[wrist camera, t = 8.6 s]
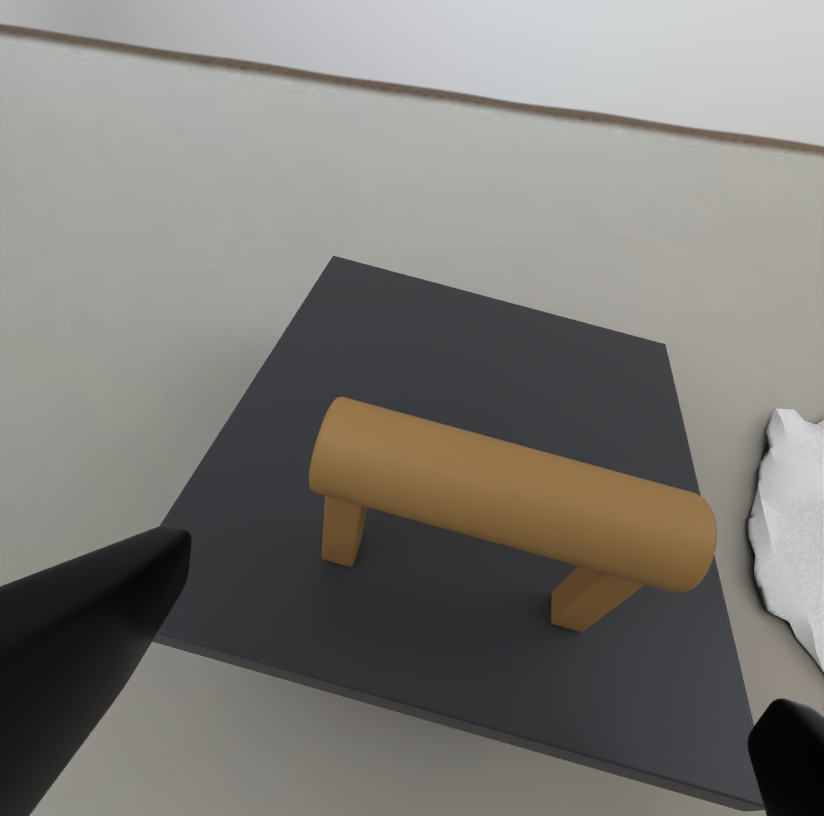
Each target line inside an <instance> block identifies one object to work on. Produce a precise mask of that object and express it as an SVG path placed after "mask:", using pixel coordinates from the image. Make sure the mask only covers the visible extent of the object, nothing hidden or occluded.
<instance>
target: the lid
mask: <svg viewBox="0 0 824 816" xmlns="http://www.w3.org/2000/svg"><path fill="white" fill-rule="evenodd" d="M163 525H167V526H172V527H175V528H179V529H183V530H186V531H188V532H189V533H190V534H191V537H192V544H191V555H190V565H189V574H188V579H187V582H186V585H185V587H184V589H183V591H182V593H181V594H180V596H179V598H178V599H177V601H176V603H175V604H174V606H173V607H172V609H171V611H170V612H169V614H168V616H167V617H166V619H165V621H164V622H163V624H162V626H161V627H160V629H159V631H158V632H157V634H156V636H155V637H154V639H153V642H156V643H159V644H163V645H166V646H170V647H173V648H177V649H180V650H184V651H187V652H191V653H194V654H198V655H201V656H205V657H208V658H212V659H215V660H219V661H222V662H226V663H229V664H233V665H236V666H240V667H243V668H247V669H250V670H253V671H257V672H260V673H264V674H267V675H271V676H274V677H278V678H281V679H285V680H288V681H292V682H295V683H299V684H302V685H306V686H309V687H313V688H316V689H320V690H323V691H327V692H330V693H334V694H337V695H340V696H344V697H347V698H351V699H354V700H358V701H361V702H365V703H368V704H372V705H375V706H379V707H382V708H386V709H389V710H393V711H396V712H400V713H403V714H407V715H410V716H414V717H417V718H421V719H424V720H428V721H431V722H434V723H438V724H441V725H445V726H448V727H452V728H455V729H459V730H462V731H466V732H469V733H473V734H476V735H480V736H483V737H487V738H490V739H494V740H497V741H501V742H504V743H508V744H511V745H515V746H518V747H521V748H525V749H528V750H532V751H535V752H539V753H542V754H546V755H549V756H553V757H556V758H560V759H563V760H567V761H570V762H574V763H577V764H581V765H584V766H588V767H591V768H595V769H598V770H602V771H605V772H609V773H612V774H615V775H619V776H622V777H626V778H629V779H633V780H636V781H640V782H643V783H647V784H650V785H654V786H657V787H661V788H664V789H668V790H671V791H675V792H678V793H682V794H685V795H689V796H692V797H696V798H699V799H702V800H706V801H709V802H713V803H716V804H720V805H723V806H727V807H730V808H734V809H737V810H741V811H758V810H765V808H764V804H763V801H762V798H761V794H760V791H759V787H758V784H757V780H756V777H755V774H754V770H753V767H752V763H751V760H750V756H749V753H748V745H747V743H748V736H749V733H750V732H751V730H752V729H753V727H754V724H753V720H752V716H751V711H750V707H749V703H748V698H747V694H746V690H745V685H744V681H743V677H742V672H741V668H740V664H739V660H738V655H737V651H736V647H735V642H734V638H733V634H732V629H731V625H730V621H729V616H728V612H727V608H726V604H725V599H724V595H723V591H722V586H721V582H720V578H719V573H718V569H717V565H716V561H715V556H714V552H715V546H716V524H715V518H714V515H713V512H712V510H711V508H710V506H709V504H708V503H707V502H706V501H705V500H704V499H703V498H702V497H701V496H700V492H699V487H698V483H697V479H696V474H695V470H694V466H693V462H692V457H691V453H690V449H689V444H688V440H687V436H686V431H685V427H684V423H683V418H682V414H681V410H680V406H679V401H678V397H677V393H676V388H675V384H674V380H673V375H672V371H671V367H670V362H669V358H668V354H667V350H666V345H665V344H662V343H658V342H655V341H651V340H647V339H643V338H640V337H636V336H632V335H628V334H625V333H621V332H617V331H613V330H610V329H606V328H602V327H598V326H595V325H591V324H587V323H583V322H580V321H576V320H572V319H568V318H565V317H561V316H557V315H553V314H550V313H546V312H542V311H538V310H535V309H531V308H527V307H523V306H520V305H516V304H512V303H508V302H505V301H501V300H497V299H493V298H490V297H486V296H482V295H478V294H475V293H471V292H467V291H463V290H460V289H456V288H452V287H448V286H445V285H441V284H437V283H434V282H430V281H426V280H422V279H419V278H415V277H411V276H407V275H404V274H400V273H396V272H392V271H389V270H385V269H381V268H377V267H374V266H370V265H366V264H362V263H359V262H355V261H351V260H347V259H344V258H340V257H336V256H333V257H332V258H331V260H330V262H329V263H328V265H327V266H326V268H325V269H324V271H323V272H322V274H321V276H320V277H319V279H318V280H317V282H316V283H315V285H314V286H313V288H312V290H311V291H310V293H309V294H308V296H307V297H306V299H305V301H304V302H303V304H302V305H301V307H300V308H299V310H298V311H297V313H296V315H295V316H294V318H293V319H292V321H291V322H290V324H289V325H288V327H287V329H286V330H285V332H284V333H283V335H282V336H281V338H280V339H279V341H278V343H277V344H276V346H275V347H274V349H273V350H272V352H271V354H270V355H269V357H268V358H267V360H266V361H265V363H264V364H263V366H262V368H261V369H260V371H259V372H258V374H257V375H256V377H255V378H254V380H253V382H252V383H251V385H250V386H249V388H248V389H247V391H246V392H245V394H244V396H243V397H242V399H241V400H240V402H239V403H238V405H237V407H236V408H235V410H234V411H233V413H232V414H231V416H230V417H229V419H228V421H227V422H226V424H225V425H224V427H223V428H222V430H221V431H220V433H219V435H218V436H217V438H216V439H215V441H214V442H213V444H212V446H211V447H210V449H209V450H208V452H207V453H206V455H205V456H204V458H203V460H202V461H201V463H200V464H199V466H198V467H197V469H196V470H195V472H194V474H193V475H192V477H191V478H190V480H189V481H188V483H187V484H186V486H185V488H184V489H183V491H182V492H181V494H180V495H179V497H178V499H177V500H176V502H175V503H174V505H173V506H172V508H171V509H170V511H169V513H168V514H167V516H166V517H165V519H164V520H163V522H162V523H161V525H160V526H163Z"/></svg>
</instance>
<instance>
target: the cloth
mask: <svg viewBox="0 0 824 816" xmlns="http://www.w3.org/2000/svg"><path fill="white" fill-rule="evenodd" d="M766 435H767V442H766V445H765V449H764V452H763V456H762V459H761V462H760V465H759V468H758V487H757V491H756V495H755V498H754V501H753V505H752V508H751V511H750V515H749V517H748V519H747V520H746V521H747V531H748V538H749V541H750V543H751V545H752V548H753V550H754V552H755V555H756V556H755V566H754V578H755V582H756V585H757V588H758V591H759V594H760V597H761V600H762V603H763V606H764V609H765V611H767V612H769V613H771V614H773V615H775V616H778V617H780V618H782V619H784V620H787V621H789V623H790V625H791V627H792V629H793V632H794V634H795V636H796V638H797V640H798V642H799V643H800V644H801V645H802V646H803V647H804V648H805V649H806V651H807V652H808V653H809V654H810V655H811V656H812V657H813V659H814V660H815V661H816V662H817V664H818V665H819V667H820V668H821V669H822V671H823V672H824V420H823V421H822V422H820V423H818V424H814V423H810V422H807V421H804V420H803V419H802V417H801V416H800V415H799V414H798V413H797V412H796V411H795V410H788V409H776V408H775V410H774V412H773V414H772V416H771V418H770V420H769V422H768V424H767V427H766Z"/></svg>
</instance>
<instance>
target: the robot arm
mask: <svg viewBox="0 0 824 816" xmlns="http://www.w3.org/2000/svg"><path fill="white" fill-rule="evenodd" d="M191 544H192V537H191V534H190V533H189V532H188V531H186V530H183V529H179V528H175V527H172V526H167V525H163V526H159V527H156V528H154V529H151V530H149V531H146V532H143V533H141V534H138V535H135V536H133V537H130V538H127V539H125V540H122V541H119V542H117V543H114V544H112V545H109V546H106V547H104V548H101V549H98V550H96V551H93V552H90V553H88V554H85V555H83V556H80V557H77V558H75V559H72V560H69V561H67V562H64V563H61V564H59V565H56V566H53V567H51V568H48V569H46V570H43V571H40V572H38V573H35V574H32V575H30V576H27V577H24V578H22V579H19V580H17V581H14V582H11V583H9V584H6V585H3V586H1V587H0V816H29V815H30V814H31V813H32V811H33V810H34V809H35V807H36V806H37V805H38V803H39V802H40V800H41V799H42V798H43V796H44V795H45V794H46V792H47V791H48V790H49V788H50V787H51V786H52V784H53V783H54V782H55V780H56V779H57V778H58V776H59V775H60V774H61V772H62V771H63V769H64V768H65V767H66V765H67V764H68V763H69V761H70V760H71V759H72V757H73V756H74V755H75V753H76V752H77V751H78V749H79V748H80V747H81V745H82V744H83V743H84V741H85V740H86V738H87V737H88V736H89V734H90V733H91V732H92V730H93V729H94V728H95V726H96V725H97V724H98V722H99V721H100V720H101V718H102V717H103V716H104V714H105V713H106V712H107V710H108V709H109V707H110V706H111V705H112V703H113V702H114V701H115V699H116V698H117V696H118V695H119V694H120V692H121V691H122V689H123V688H124V686H125V685H126V683H127V682H128V680H129V678H130V677H131V675H132V674H133V672H134V671H135V669H136V667H137V666H138V664H139V662H140V661H141V659H142V657H143V656H144V654H145V652H146V651H147V649H148V647H149V646H150V644H151V642H152V641H153V639H154V637H155V636H156V634H157V632H158V631H159V629H160V627H161V626H162V624H163V622H164V621H165V619H166V617H167V616H168V614H169V612H170V611H171V609H172V607H173V606H174V604H175V603H176V601H177V599H178V598H179V596H180V594H181V593H182V591H183V589H184V587H185V585H186V582H187V579H188V574H189V565H190V555H191ZM747 745H748V753H749V756H750V760H751V763H752V767H753V770H754V774H755V777H756V780H757V784H758V787H759V791H760V794H761V798H762V801H763V804H764V808H765V811H766V815H767V816H824V717H823V716H822V715H820V714H819V713H818V712H817V711H815V710H814V709H813V708H811V707H809V706H807V705H804V704H801V703H797V702H794V701H790V700H787V699H777V700H774V701H773V702H772V703H771V704H770V705H769V706H768V708H767V709H766V711H765V712H764V713H763V715H762V716H761V718H760V719H759V720H758V722H757V723H756V725H755V726H754V727H753V729H752V730H751V732H750V733H749V736H748V743H747Z"/></svg>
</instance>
